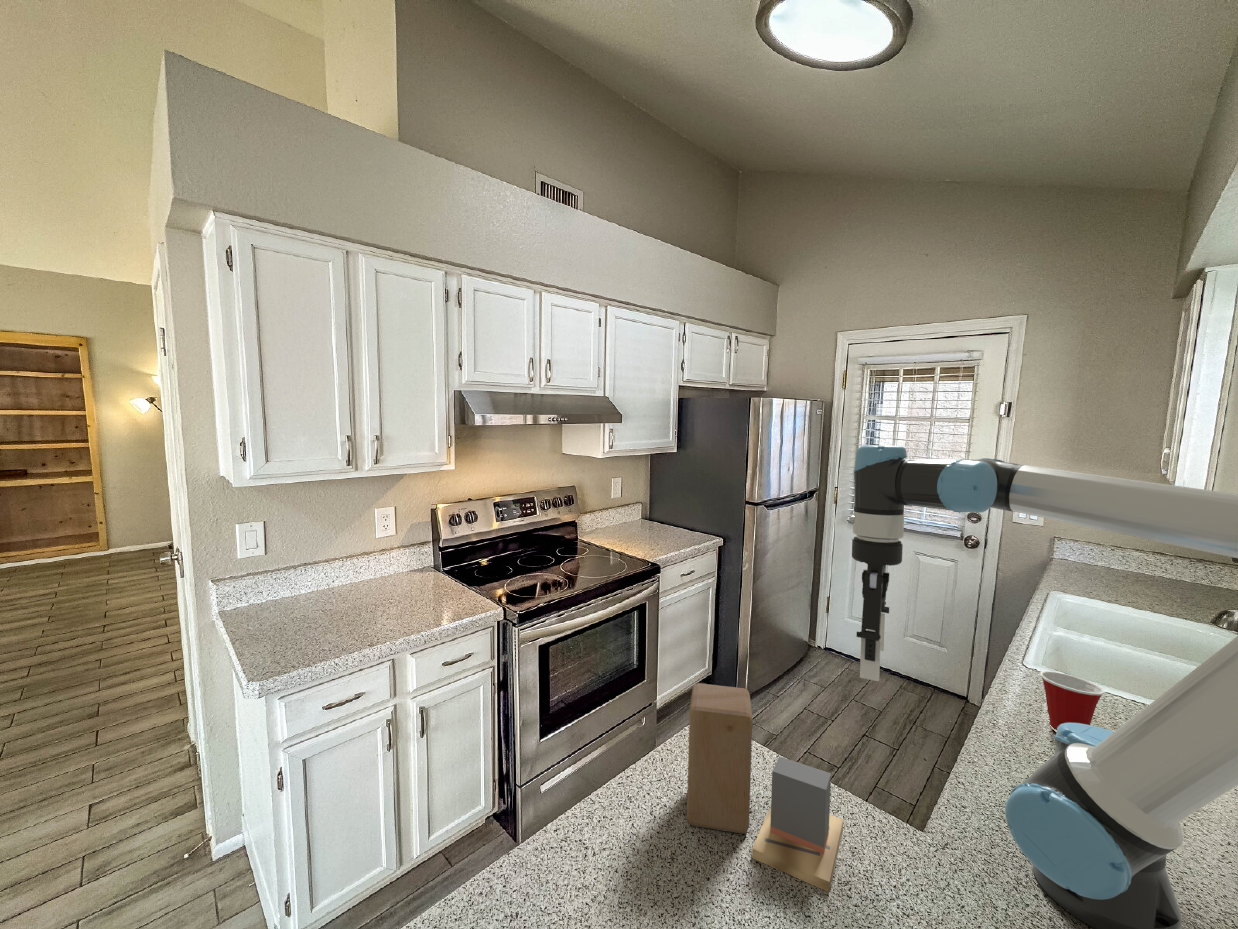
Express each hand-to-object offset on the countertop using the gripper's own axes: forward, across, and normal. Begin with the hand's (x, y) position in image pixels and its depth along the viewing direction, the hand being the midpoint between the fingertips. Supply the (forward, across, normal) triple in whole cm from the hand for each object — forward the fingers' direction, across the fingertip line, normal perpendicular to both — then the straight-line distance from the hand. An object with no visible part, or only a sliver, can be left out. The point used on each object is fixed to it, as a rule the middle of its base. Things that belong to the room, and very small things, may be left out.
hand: (872, 663), depth 86 cm
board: (+26, +12, -9) cm, 31 cm away
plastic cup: (+27, -52, +37) cm, 69 cm away
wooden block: (+27, +12, -22) cm, 37 cm away
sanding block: (+25, +12, -9) cm, 29 cm away
